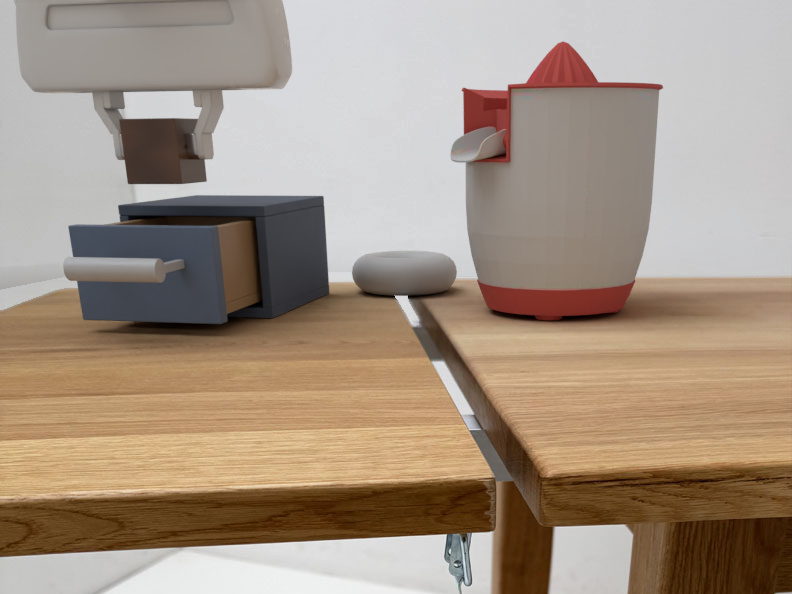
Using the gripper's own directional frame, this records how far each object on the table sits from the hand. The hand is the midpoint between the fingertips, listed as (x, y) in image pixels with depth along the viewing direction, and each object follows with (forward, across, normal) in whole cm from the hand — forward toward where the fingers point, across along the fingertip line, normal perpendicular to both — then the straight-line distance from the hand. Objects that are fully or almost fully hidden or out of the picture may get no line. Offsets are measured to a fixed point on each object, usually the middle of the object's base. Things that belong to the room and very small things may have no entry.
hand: (165, 159), depth 77 cm
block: (+2, 0, 0) cm, 2 cm away
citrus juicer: (+12, +28, +10) cm, 32 cm away
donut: (+12, +13, +20) cm, 27 cm away
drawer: (+11, 0, -1) cm, 11 cm away
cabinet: (+12, 0, +10) cm, 16 cm away
